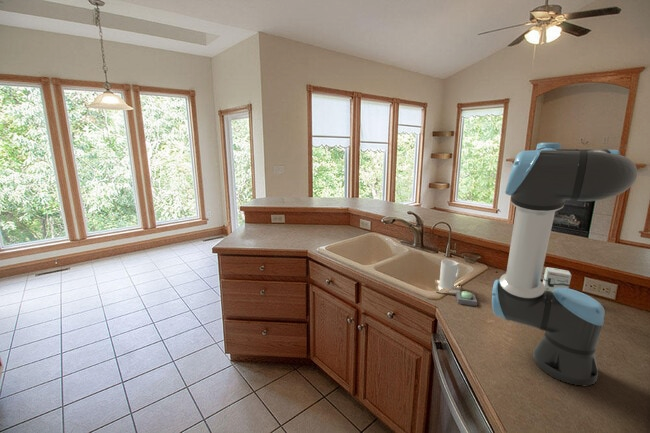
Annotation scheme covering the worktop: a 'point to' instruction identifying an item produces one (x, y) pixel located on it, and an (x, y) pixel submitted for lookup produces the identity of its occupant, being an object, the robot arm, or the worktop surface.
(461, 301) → the button base
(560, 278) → the ink box
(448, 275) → the mug
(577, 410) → the worktop surface
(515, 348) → the worktop surface
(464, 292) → the button
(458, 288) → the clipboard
